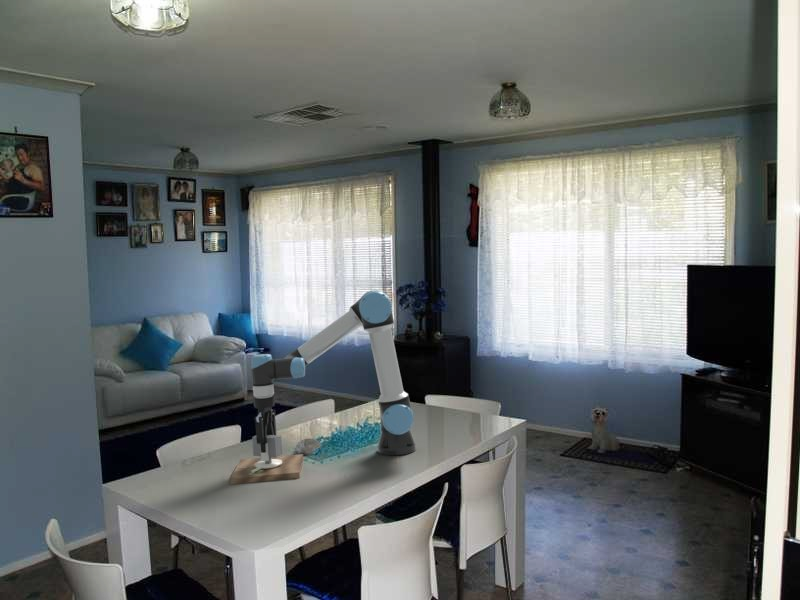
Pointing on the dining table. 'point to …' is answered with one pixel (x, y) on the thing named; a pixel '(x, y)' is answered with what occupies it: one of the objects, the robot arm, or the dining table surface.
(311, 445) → the fossilized seashell
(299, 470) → the dial board
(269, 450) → the tuning knob
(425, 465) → the dining table surface
